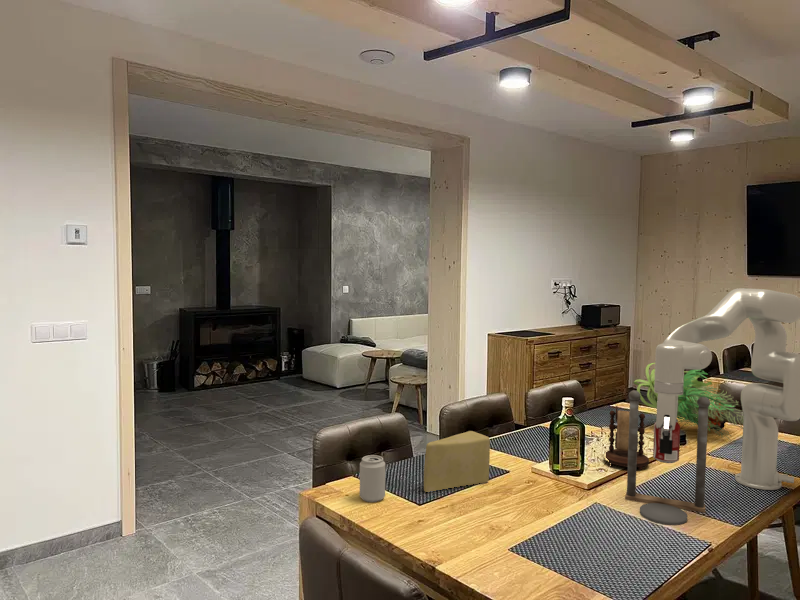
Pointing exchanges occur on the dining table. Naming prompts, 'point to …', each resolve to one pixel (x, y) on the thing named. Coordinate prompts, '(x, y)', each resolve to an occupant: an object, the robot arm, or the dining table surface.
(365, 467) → the can
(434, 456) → the cheese
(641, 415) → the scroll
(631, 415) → the gate
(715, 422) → the plant
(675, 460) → the soda can
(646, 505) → the coaster
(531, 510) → the dining table surface
